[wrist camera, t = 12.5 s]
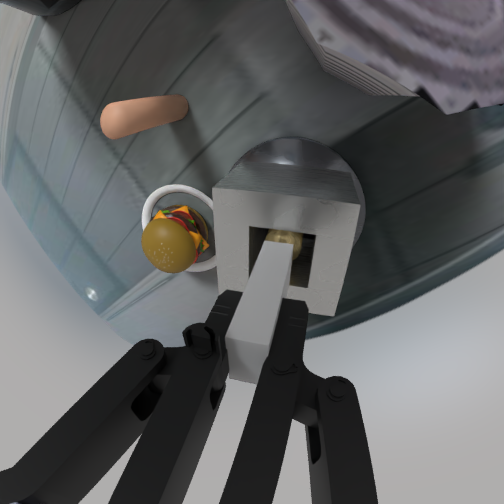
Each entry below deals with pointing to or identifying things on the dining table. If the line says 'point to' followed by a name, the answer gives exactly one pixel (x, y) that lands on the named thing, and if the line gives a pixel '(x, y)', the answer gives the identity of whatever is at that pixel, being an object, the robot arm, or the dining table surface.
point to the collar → (287, 226)
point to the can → (410, 47)
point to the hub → (309, 156)
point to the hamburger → (175, 233)
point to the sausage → (141, 114)
